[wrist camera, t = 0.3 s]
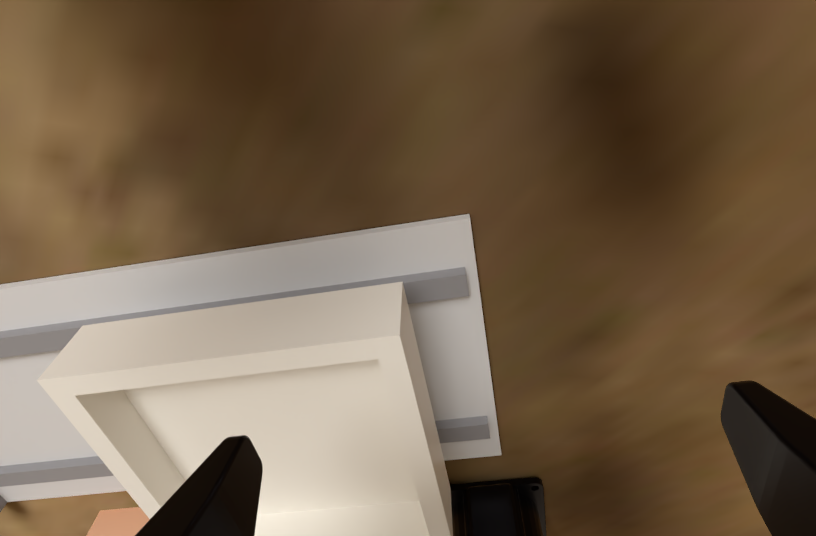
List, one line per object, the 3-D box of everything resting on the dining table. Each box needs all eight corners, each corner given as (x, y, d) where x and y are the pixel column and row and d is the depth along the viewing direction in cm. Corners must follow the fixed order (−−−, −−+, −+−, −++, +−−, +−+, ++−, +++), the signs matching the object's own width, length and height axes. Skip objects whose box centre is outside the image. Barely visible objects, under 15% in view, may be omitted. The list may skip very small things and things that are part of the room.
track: (500, 449, 31) (505, 482, 29) (-8, 498, 35) (-31, 530, 33) (469, 213, 22) (473, 240, 20) (-203, 315, 26) (-250, 344, 24)
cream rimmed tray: (449, 459, 30) (453, 547, 26) (219, 481, 31) (188, 566, 27) (404, 257, 22) (399, 334, 18) (103, 300, 24) (36, 380, 20)
